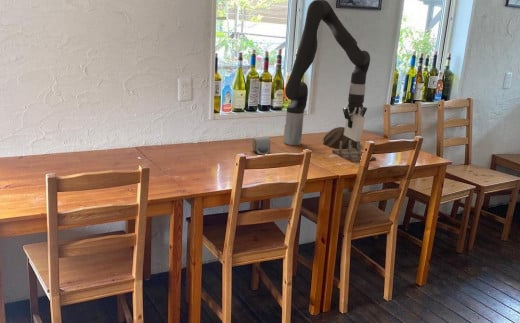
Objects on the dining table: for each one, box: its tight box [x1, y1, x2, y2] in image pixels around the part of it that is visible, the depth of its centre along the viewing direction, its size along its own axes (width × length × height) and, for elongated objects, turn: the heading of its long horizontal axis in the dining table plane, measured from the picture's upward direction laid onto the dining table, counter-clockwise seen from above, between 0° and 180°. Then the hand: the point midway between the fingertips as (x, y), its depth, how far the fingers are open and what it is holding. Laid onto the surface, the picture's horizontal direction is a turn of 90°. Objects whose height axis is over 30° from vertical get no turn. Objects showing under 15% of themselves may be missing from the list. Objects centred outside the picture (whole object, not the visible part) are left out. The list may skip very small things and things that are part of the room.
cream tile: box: [344, 113, 366, 142], centre depth 239 cm, size 10×3×12 cm, turn 28°
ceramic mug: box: [251, 136, 272, 155], centre depth 241 cm, size 11×8×8 cm
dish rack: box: [331, 140, 377, 164], centre depth 244 cm, size 18×14×7 cm
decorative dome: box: [322, 126, 358, 150], centre depth 265 cm, size 19×20×10 cm
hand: (352, 127), depth 240 cm, fingers closed on cream tile, 3 cm apart
